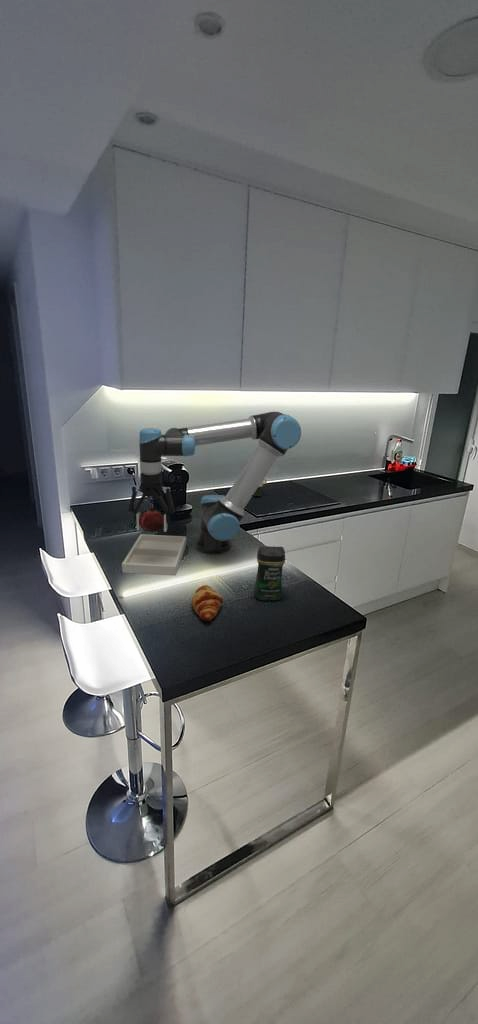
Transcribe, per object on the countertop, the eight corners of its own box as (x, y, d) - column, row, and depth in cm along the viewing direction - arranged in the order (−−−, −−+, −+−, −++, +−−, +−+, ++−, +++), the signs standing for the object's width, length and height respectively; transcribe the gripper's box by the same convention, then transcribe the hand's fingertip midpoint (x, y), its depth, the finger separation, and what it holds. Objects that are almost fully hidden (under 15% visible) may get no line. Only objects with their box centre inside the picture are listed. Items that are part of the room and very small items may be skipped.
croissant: (197, 599, 150) (186, 582, 148) (222, 587, 150) (212, 569, 147) (199, 635, 130) (186, 615, 128) (228, 620, 130) (216, 600, 127)
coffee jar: (254, 602, 144) (258, 552, 138) (253, 590, 151) (256, 542, 145) (283, 602, 144) (287, 552, 138) (280, 590, 152) (284, 542, 146)
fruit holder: (186, 543, 186) (186, 536, 185) (175, 575, 159) (175, 566, 158) (140, 541, 186) (140, 534, 185) (122, 572, 159) (121, 564, 158)
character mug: (264, 494, 261) (266, 474, 257) (266, 498, 254) (267, 477, 250) (247, 494, 260) (248, 473, 256) (247, 497, 254) (249, 476, 249)
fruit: (160, 537, 156) (159, 511, 153) (135, 534, 158) (134, 508, 155) (168, 528, 165) (168, 504, 162) (145, 525, 167) (145, 501, 163)
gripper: (183, 471, 157) (182, 527, 165) (123, 468, 157) (125, 524, 165) (180, 476, 150) (179, 535, 158) (117, 473, 150) (120, 531, 158)
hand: (152, 529), depth 161 cm, fingers closed on fruit, 9 cm apart
